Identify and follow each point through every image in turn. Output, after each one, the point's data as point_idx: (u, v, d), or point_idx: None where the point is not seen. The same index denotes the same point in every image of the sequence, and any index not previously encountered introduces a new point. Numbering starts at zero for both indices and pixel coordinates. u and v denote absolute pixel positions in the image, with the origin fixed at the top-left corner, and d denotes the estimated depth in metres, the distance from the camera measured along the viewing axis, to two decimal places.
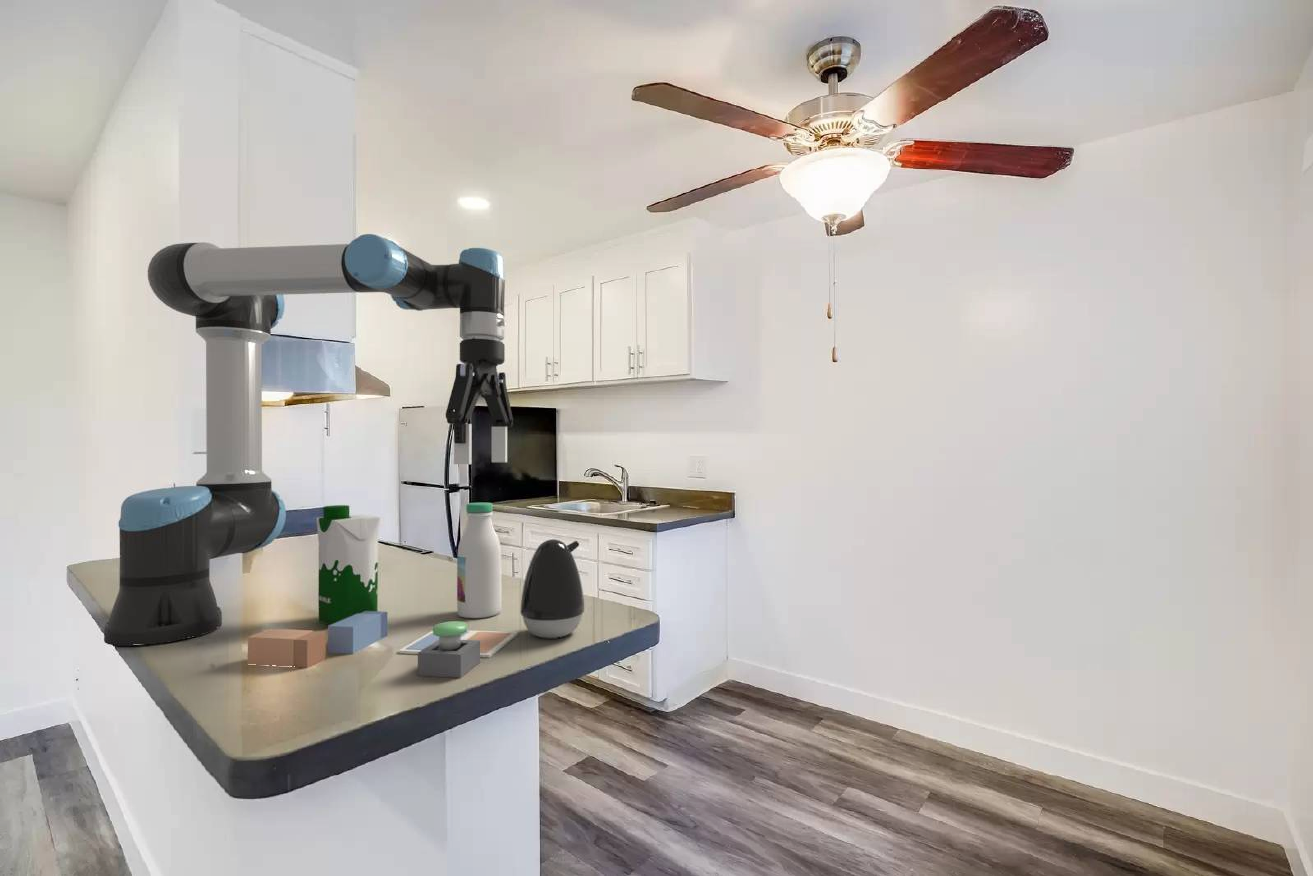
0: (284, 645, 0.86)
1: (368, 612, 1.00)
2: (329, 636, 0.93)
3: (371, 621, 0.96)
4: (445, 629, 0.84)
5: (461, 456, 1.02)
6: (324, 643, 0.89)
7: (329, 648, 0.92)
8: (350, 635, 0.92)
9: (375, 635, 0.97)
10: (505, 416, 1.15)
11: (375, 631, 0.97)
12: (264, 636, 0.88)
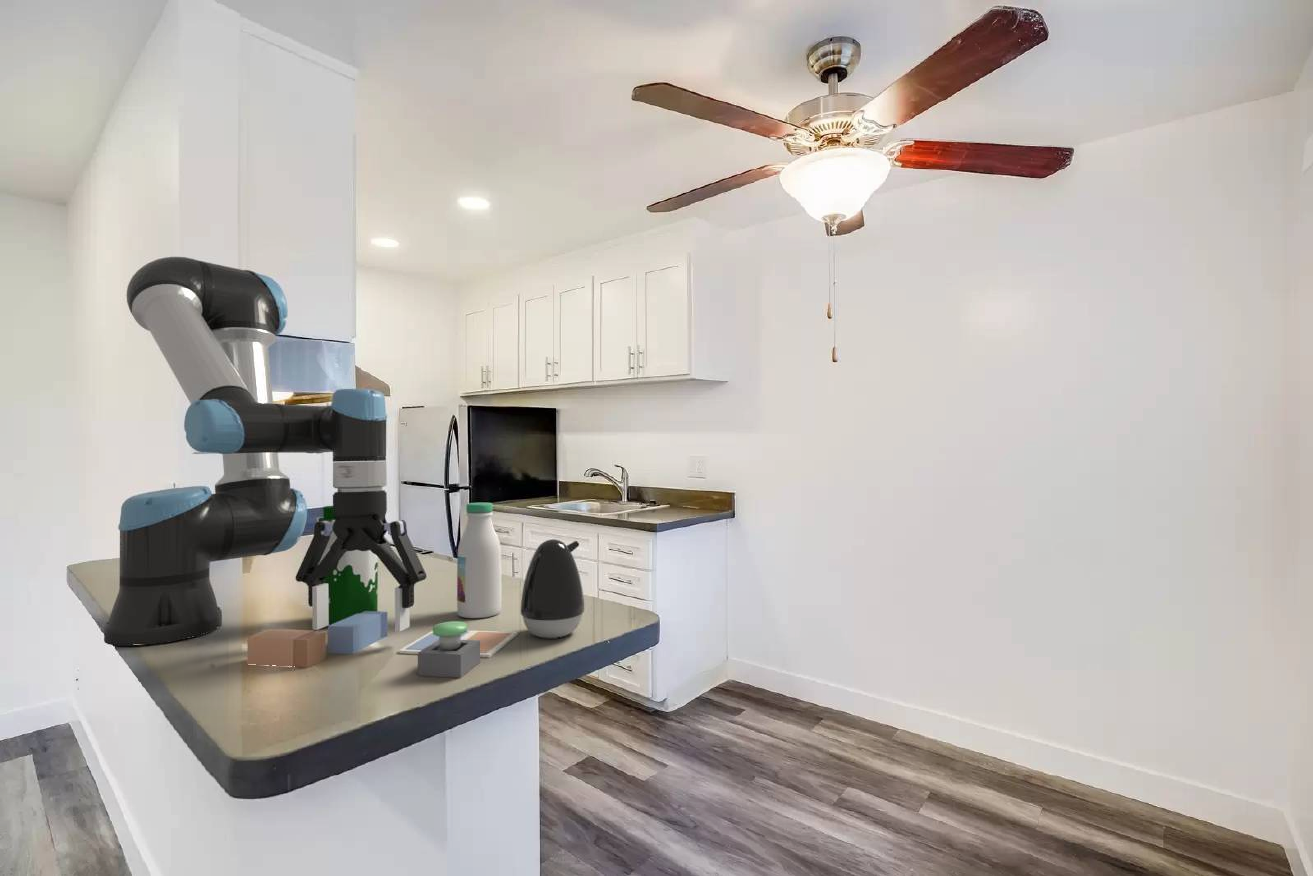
0: (283, 645, 0.86)
1: (368, 612, 1.00)
2: (329, 636, 0.92)
3: (371, 621, 0.96)
4: (445, 629, 0.84)
5: None
6: (323, 643, 0.89)
7: (329, 648, 0.92)
8: (350, 635, 0.92)
9: (375, 635, 0.97)
10: (397, 575, 0.95)
11: (375, 631, 0.97)
12: (264, 636, 0.88)
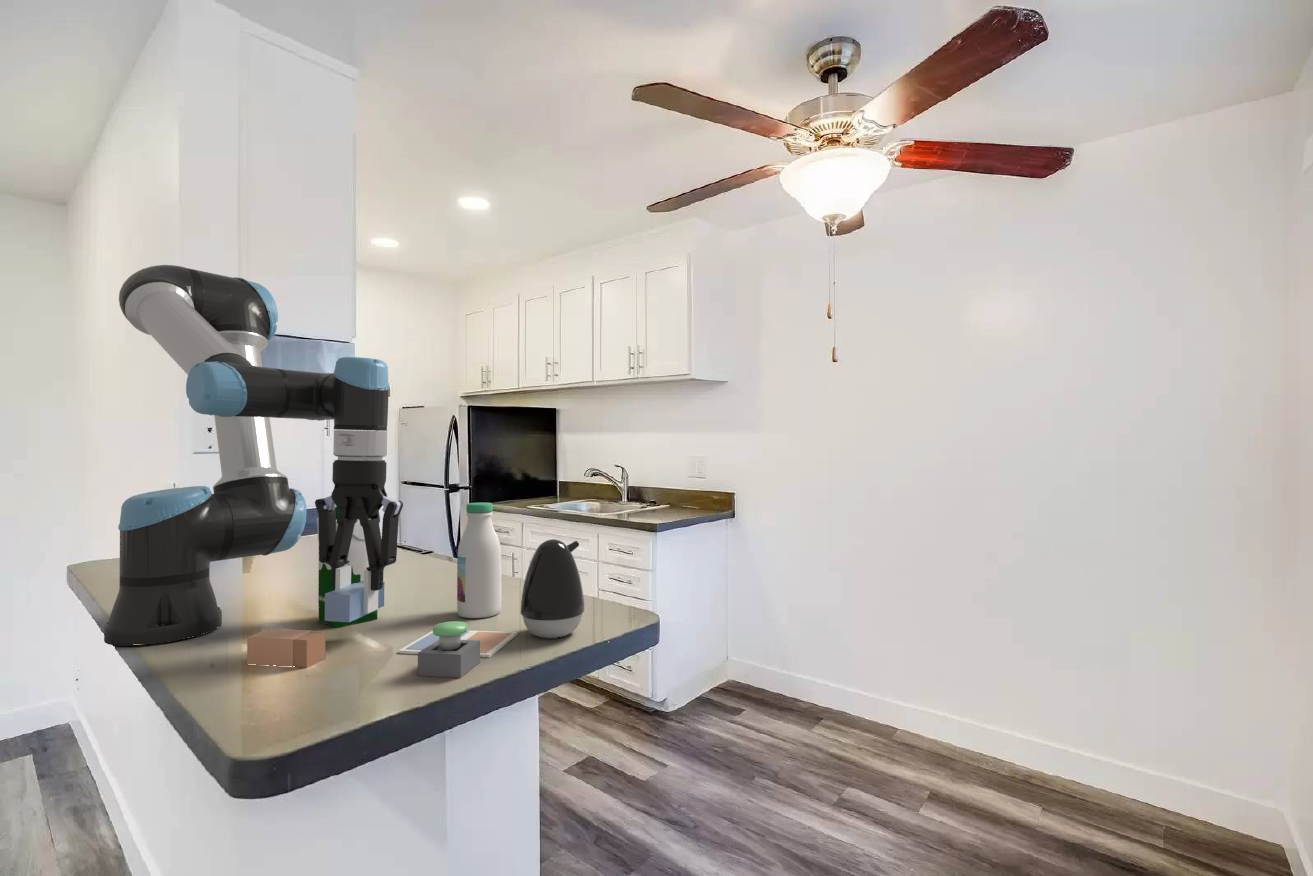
0: (283, 645, 0.86)
1: None
2: (326, 604, 0.93)
3: None
4: (445, 629, 0.84)
5: None
6: (323, 643, 0.89)
7: (326, 616, 0.93)
8: (347, 603, 0.92)
9: None
10: (371, 556, 0.96)
11: None
12: (264, 636, 0.88)
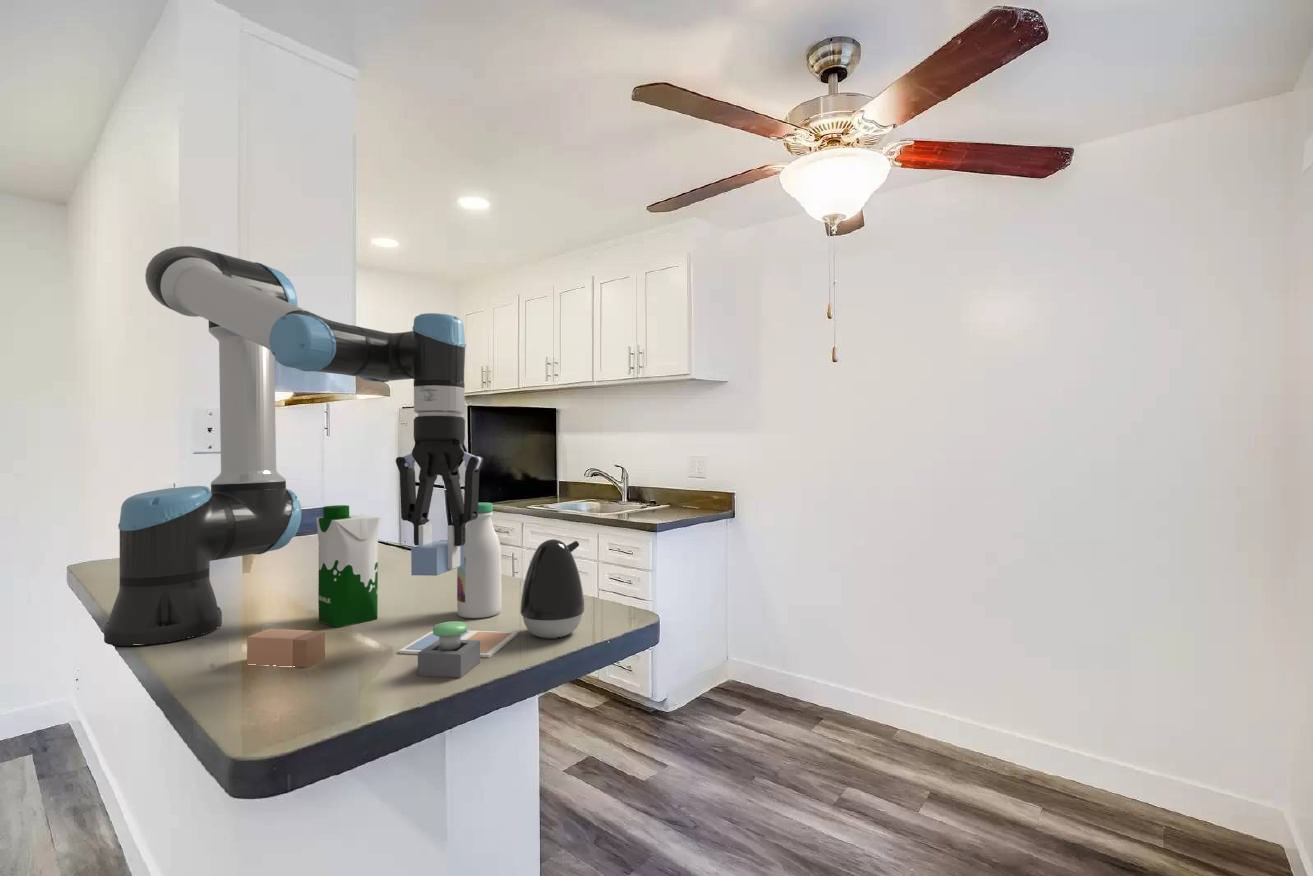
0: (283, 645, 0.86)
1: (445, 540, 1.01)
2: (412, 558, 0.93)
3: None
4: (445, 629, 0.84)
5: None
6: (323, 643, 0.89)
7: (412, 570, 0.93)
8: (434, 556, 0.92)
9: None
10: (454, 511, 0.96)
11: None
12: (263, 636, 0.88)
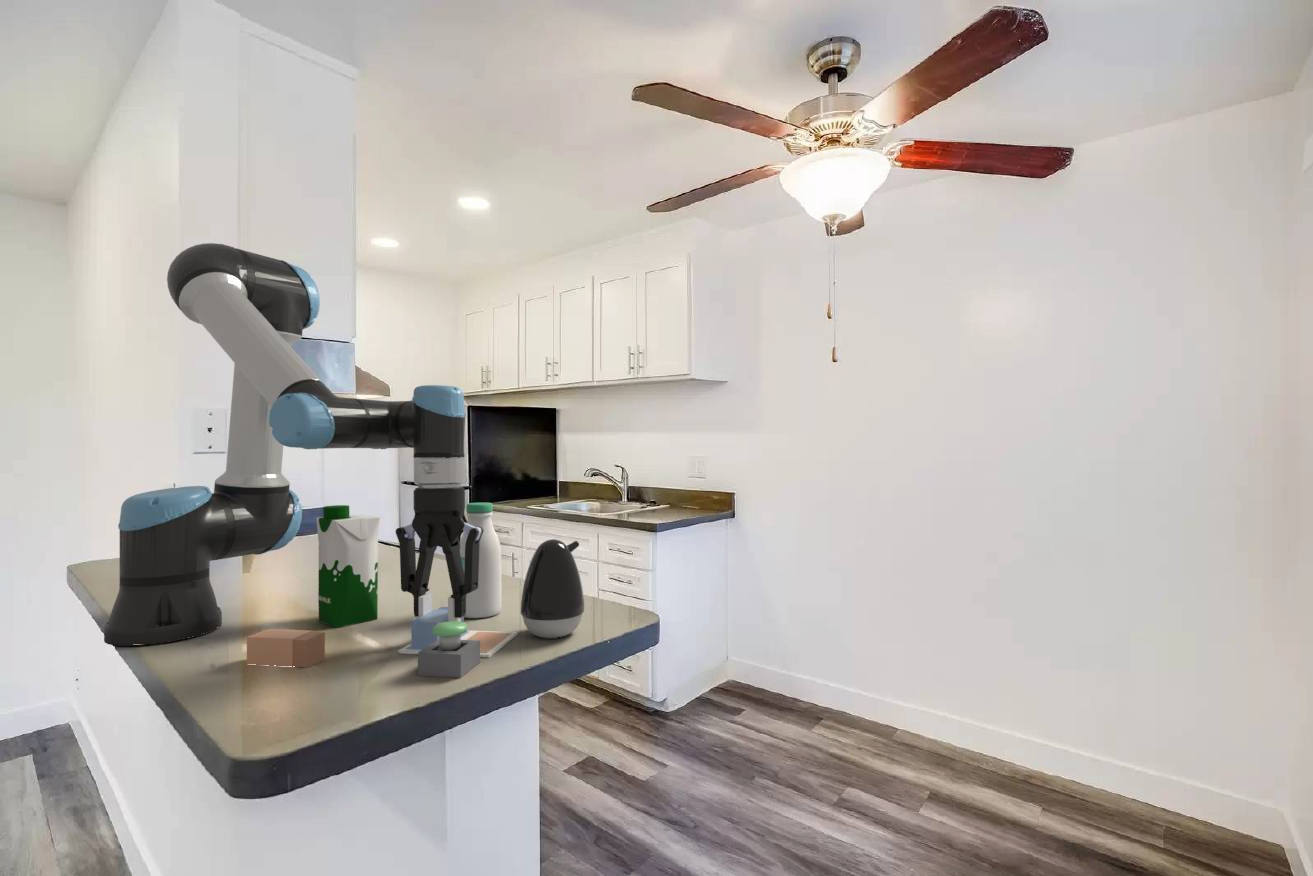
0: (283, 645, 0.86)
1: (445, 608, 1.00)
2: (412, 631, 0.93)
3: None
4: (445, 629, 0.84)
5: None
6: (323, 643, 0.89)
7: (412, 643, 0.92)
8: None
9: None
10: (455, 583, 0.95)
11: None
12: (263, 636, 0.88)
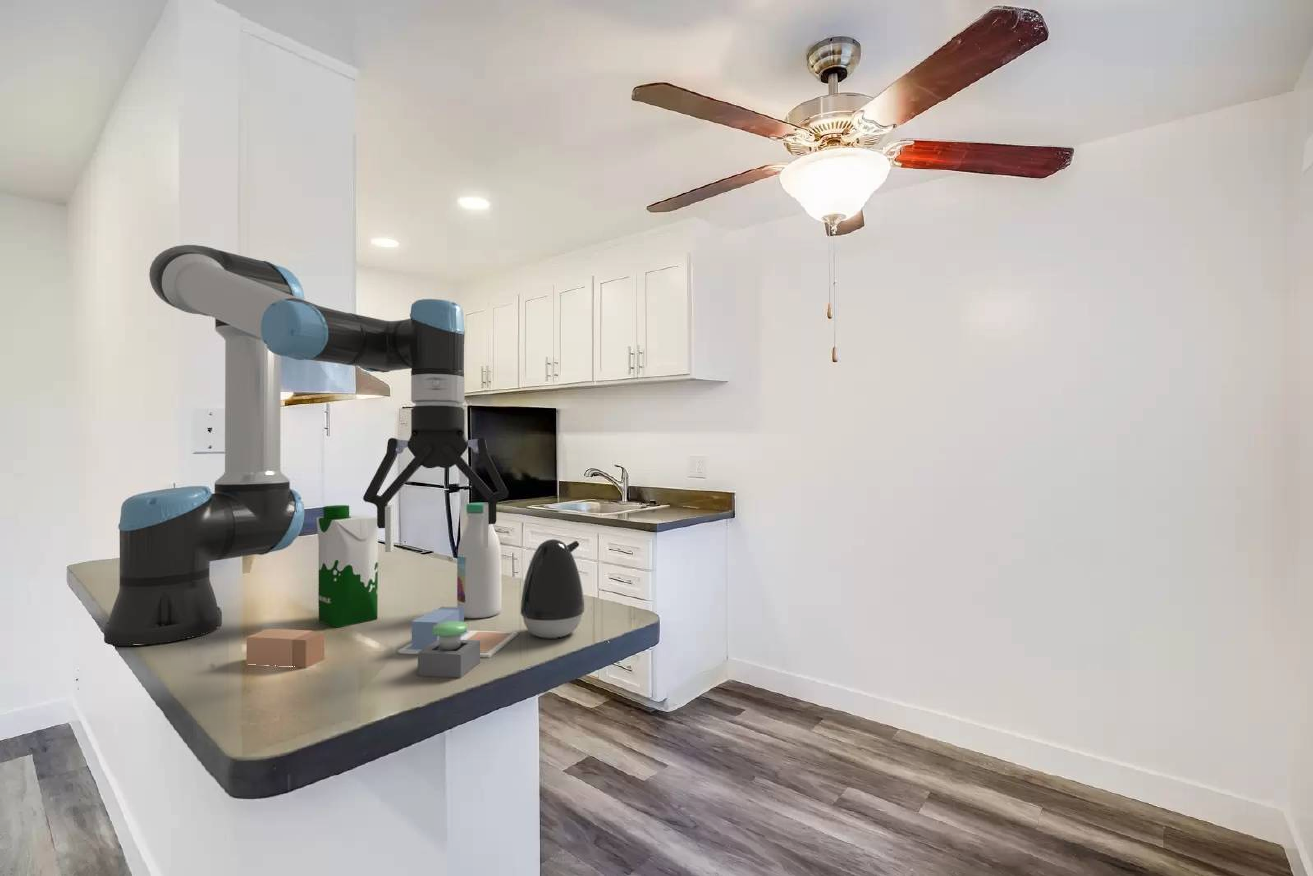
0: (282, 645, 0.86)
1: (445, 608, 1.00)
2: (413, 631, 0.93)
3: (451, 616, 0.96)
4: (445, 629, 0.84)
5: None
6: (322, 643, 0.89)
7: (413, 643, 0.92)
8: None
9: None
10: (485, 491, 0.94)
11: None
12: (263, 636, 0.88)
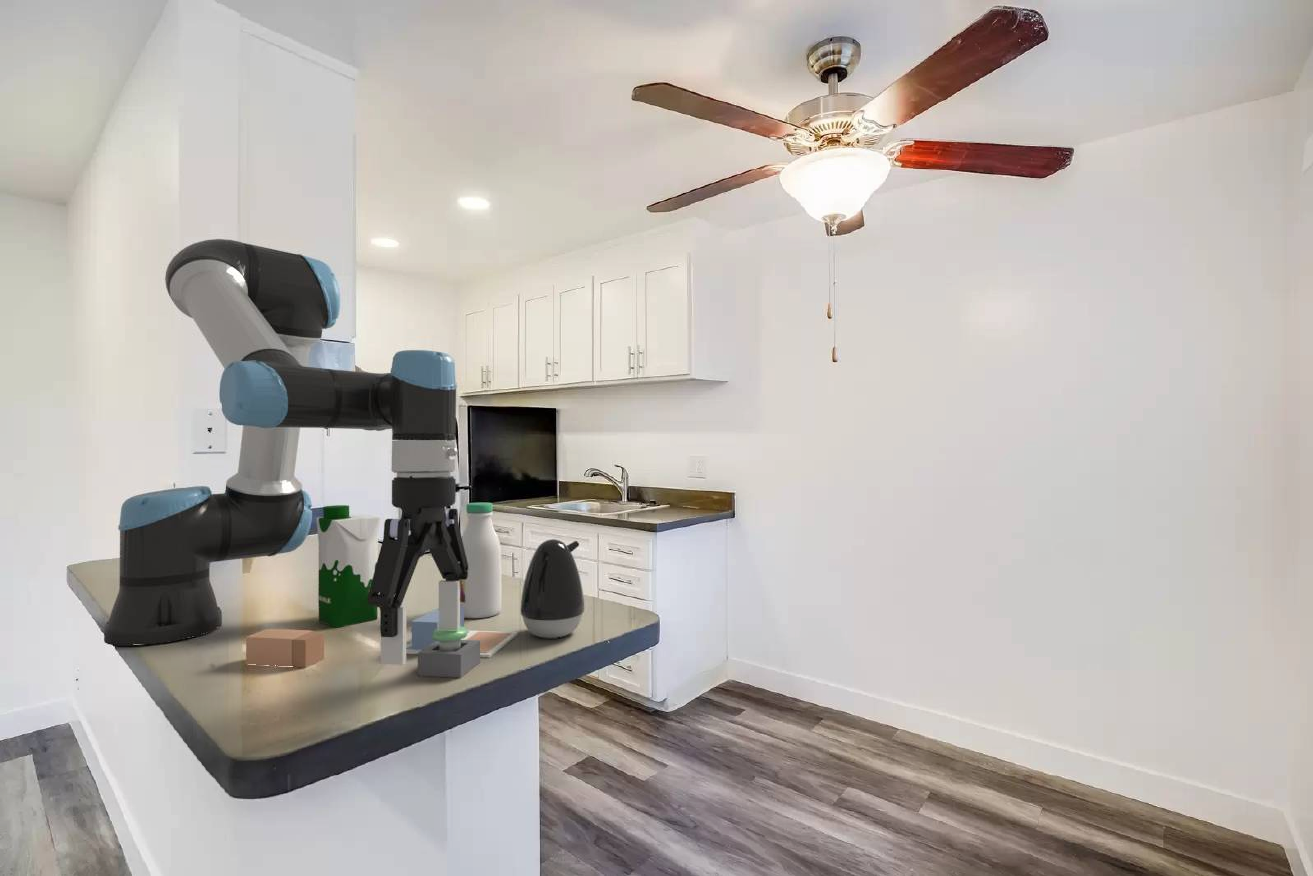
0: (282, 645, 0.86)
1: None
2: (413, 631, 0.93)
3: None
4: (445, 634, 0.84)
5: (391, 653, 0.72)
6: (322, 643, 0.89)
7: (413, 643, 0.92)
8: None
9: None
10: (457, 567, 0.85)
11: None
12: (262, 636, 0.88)
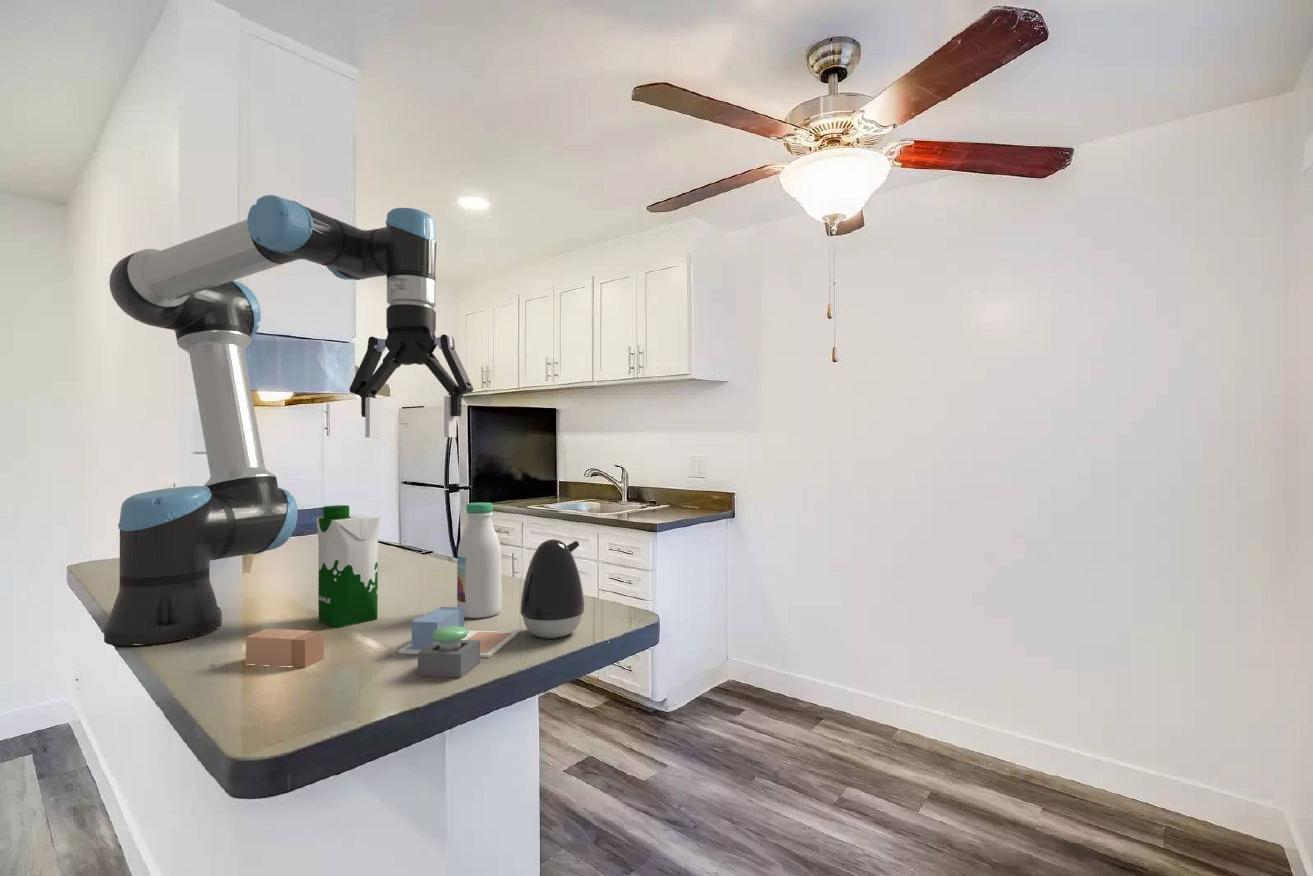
0: (282, 645, 0.86)
1: (445, 608, 1.00)
2: (413, 631, 0.93)
3: (451, 616, 0.96)
4: (445, 634, 0.84)
5: None
6: (322, 643, 0.89)
7: (413, 643, 0.92)
8: None
9: None
10: (447, 384, 1.00)
11: None
12: (262, 636, 0.88)
